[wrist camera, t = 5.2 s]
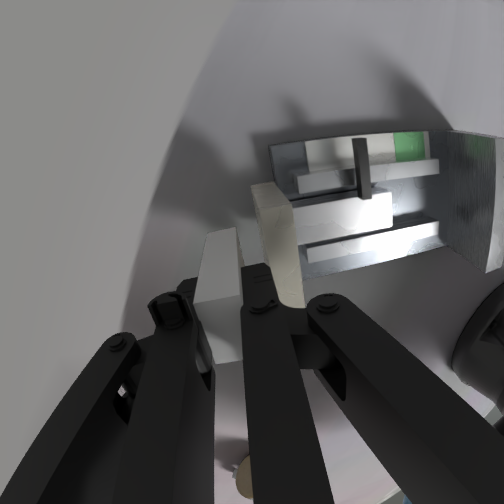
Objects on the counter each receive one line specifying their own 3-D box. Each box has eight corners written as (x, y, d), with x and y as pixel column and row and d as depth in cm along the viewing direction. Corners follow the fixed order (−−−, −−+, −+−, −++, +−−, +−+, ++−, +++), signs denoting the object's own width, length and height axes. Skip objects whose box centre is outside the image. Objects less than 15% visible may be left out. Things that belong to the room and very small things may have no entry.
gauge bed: (454, 130, 17) (511, 139, 11) (454, 235, 21) (501, 266, 15) (268, 145, 17) (287, 153, 12) (289, 274, 21) (309, 327, 15)
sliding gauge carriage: (375, 134, 16) (440, 142, 10) (381, 242, 19) (434, 289, 13) (243, 152, 16) (250, 164, 10) (265, 267, 19) (281, 330, 13)
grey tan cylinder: (265, 440, 30) (271, 494, 23) (312, 451, 32) (322, 497, 25) (217, 466, 33) (218, 512, 26) (263, 476, 35) (267, 517, 28)
